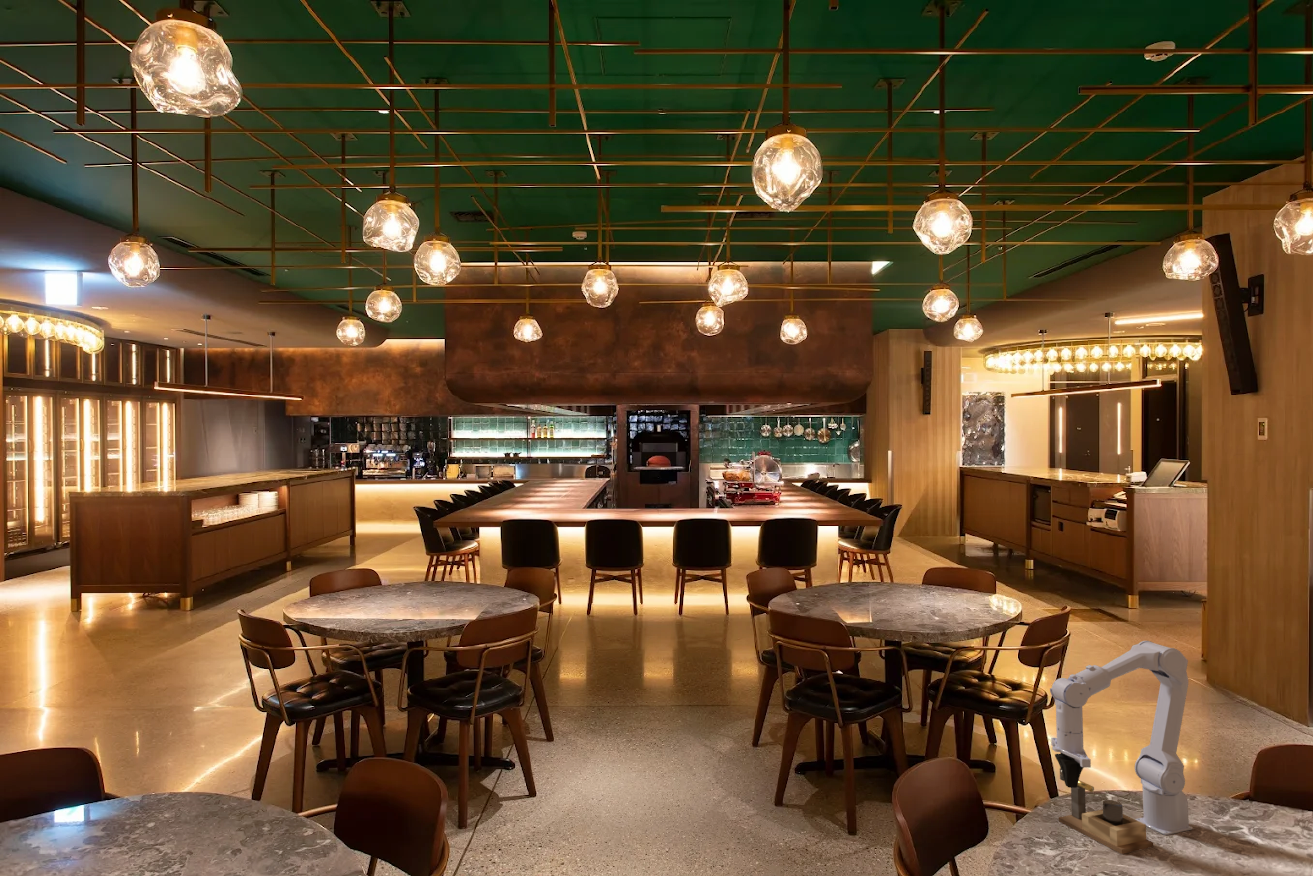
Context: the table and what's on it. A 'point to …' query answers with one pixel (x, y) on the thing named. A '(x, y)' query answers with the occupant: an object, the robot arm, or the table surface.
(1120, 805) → the black rounded block
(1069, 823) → the dock
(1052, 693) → the robot arm
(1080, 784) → the lock bolt
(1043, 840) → the table surface
